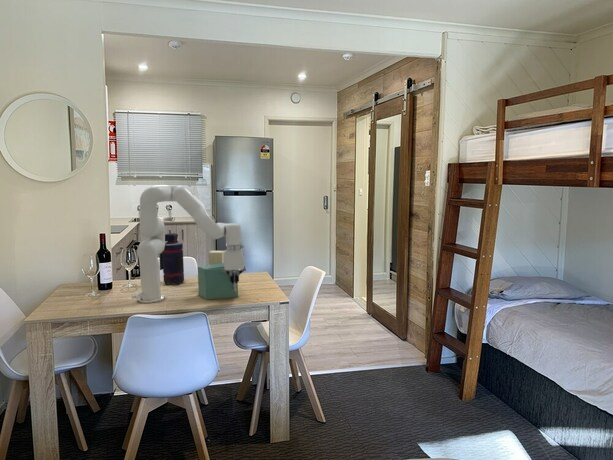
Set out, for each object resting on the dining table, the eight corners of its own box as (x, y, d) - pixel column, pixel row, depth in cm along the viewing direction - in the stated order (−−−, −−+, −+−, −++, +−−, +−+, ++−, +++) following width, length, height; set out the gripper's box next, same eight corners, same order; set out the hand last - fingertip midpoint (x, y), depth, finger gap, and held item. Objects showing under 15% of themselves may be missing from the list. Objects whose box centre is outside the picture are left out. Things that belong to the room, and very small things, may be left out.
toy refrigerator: (226, 285, 260) (225, 250, 258) (222, 288, 253) (221, 252, 251) (213, 285, 261) (211, 250, 259) (209, 288, 254) (207, 252, 251)
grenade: (187, 281, 273) (185, 232, 270) (179, 285, 262) (176, 235, 258) (166, 280, 275) (163, 232, 272) (157, 285, 264) (154, 234, 260)
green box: (239, 299, 230) (238, 269, 228) (207, 302, 226) (206, 271, 224) (237, 296, 236) (236, 267, 234) (206, 299, 231) (205, 269, 230)
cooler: (234, 294, 241) (233, 265, 239) (206, 299, 232) (205, 269, 230) (225, 290, 249) (224, 262, 247) (198, 295, 240) (197, 266, 238)
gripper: (248, 246, 231) (249, 280, 233) (217, 247, 228) (219, 282, 230) (249, 248, 224) (250, 284, 226) (217, 249, 221) (218, 285, 223)
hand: (234, 282), depth 228 cm, fingers closed on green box
